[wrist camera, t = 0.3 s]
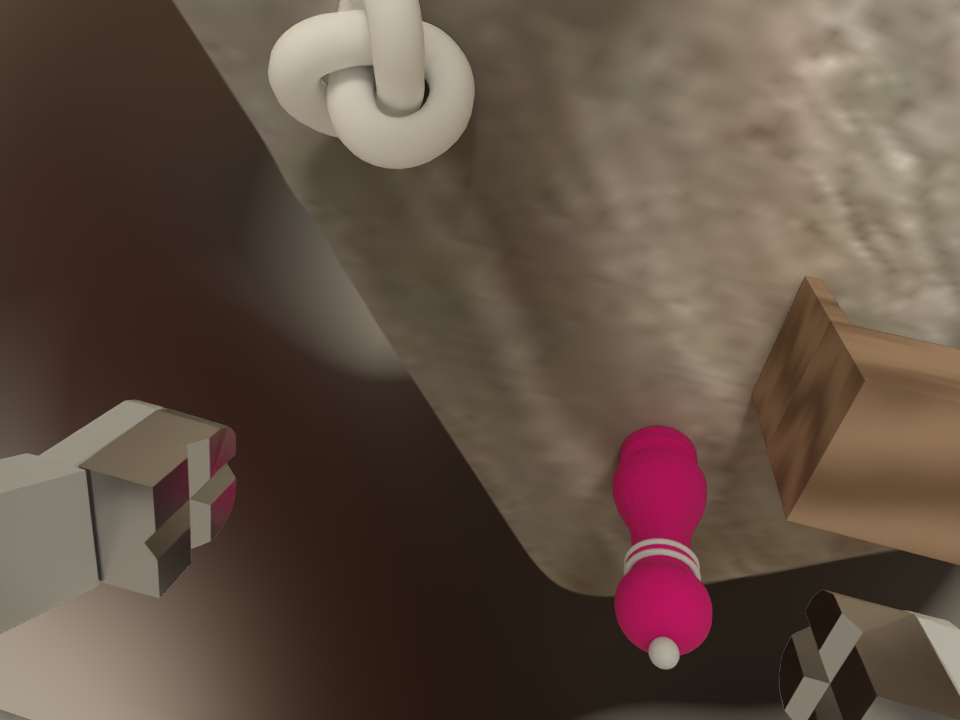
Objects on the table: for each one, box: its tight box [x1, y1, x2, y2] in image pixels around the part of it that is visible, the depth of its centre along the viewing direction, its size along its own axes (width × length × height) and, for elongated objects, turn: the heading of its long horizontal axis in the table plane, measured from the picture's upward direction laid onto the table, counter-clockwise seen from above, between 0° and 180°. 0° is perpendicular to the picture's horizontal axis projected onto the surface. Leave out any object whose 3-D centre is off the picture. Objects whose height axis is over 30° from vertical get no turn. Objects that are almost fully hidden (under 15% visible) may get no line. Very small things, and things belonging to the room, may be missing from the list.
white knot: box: [268, 0, 475, 169], centre depth 39 cm, size 11×12×9 cm
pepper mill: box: [613, 426, 712, 669], centre depth 45 cm, size 7×7×20 cm
